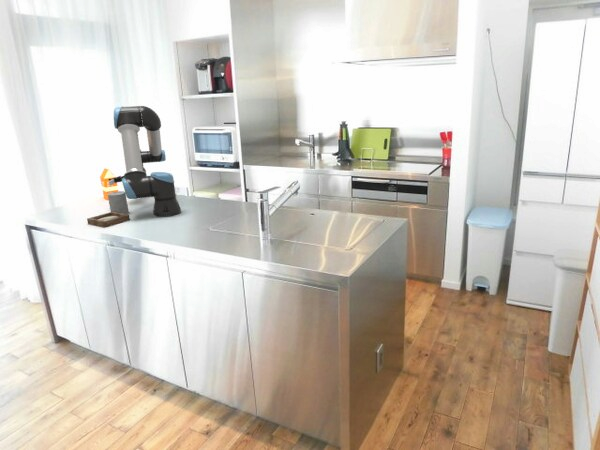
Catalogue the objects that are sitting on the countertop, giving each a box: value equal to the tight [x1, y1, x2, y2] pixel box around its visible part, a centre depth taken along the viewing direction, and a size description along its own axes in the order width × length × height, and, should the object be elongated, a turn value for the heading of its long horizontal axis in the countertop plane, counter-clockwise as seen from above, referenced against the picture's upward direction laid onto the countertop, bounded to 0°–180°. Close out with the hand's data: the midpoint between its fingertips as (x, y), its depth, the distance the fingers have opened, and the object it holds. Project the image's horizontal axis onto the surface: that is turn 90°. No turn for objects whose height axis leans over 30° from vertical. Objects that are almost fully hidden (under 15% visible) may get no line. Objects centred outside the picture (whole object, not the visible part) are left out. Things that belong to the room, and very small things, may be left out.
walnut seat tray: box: [86, 211, 131, 229], centre depth 224 cm, size 15×15×3 cm
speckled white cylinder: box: [107, 190, 130, 215], centre depth 237 cm, size 10×10×12 cm
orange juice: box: [99, 167, 119, 201], centre depth 277 cm, size 8×9×20 cm
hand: (121, 183), depth 243 cm, fingers open, 13 cm apart
